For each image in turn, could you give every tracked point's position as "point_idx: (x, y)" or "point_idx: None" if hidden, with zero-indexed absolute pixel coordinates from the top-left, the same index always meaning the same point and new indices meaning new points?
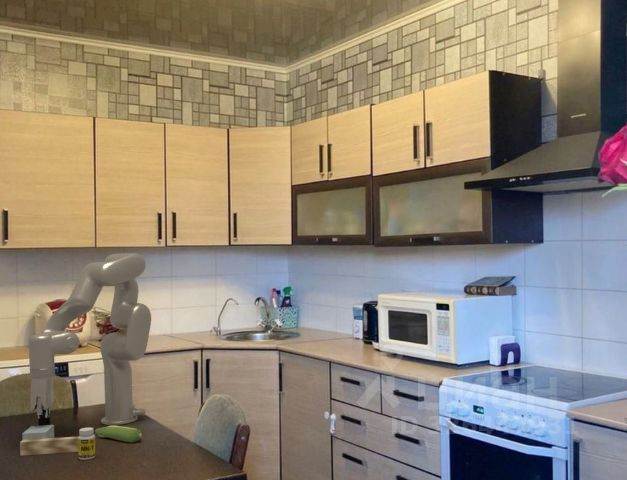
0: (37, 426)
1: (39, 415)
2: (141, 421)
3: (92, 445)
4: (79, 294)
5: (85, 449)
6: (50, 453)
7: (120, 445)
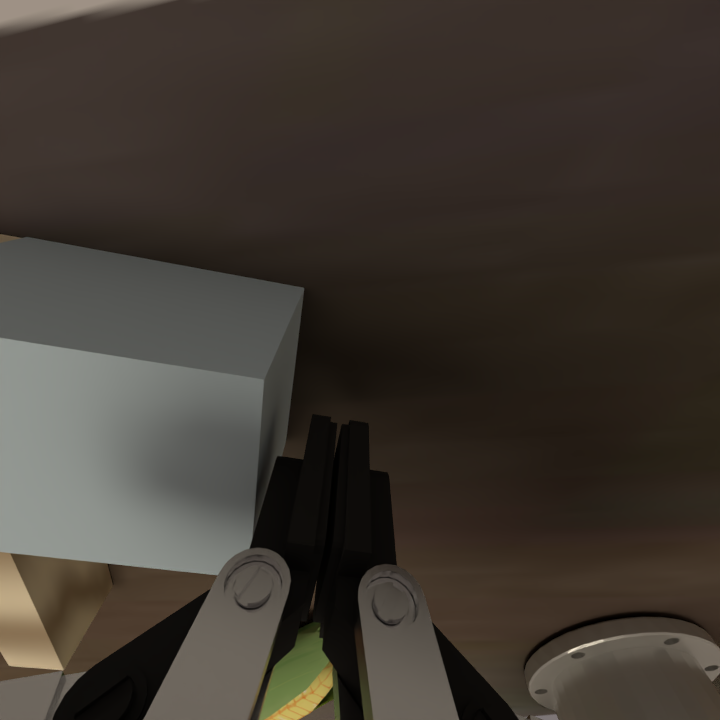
0: (216, 453)
1: (127, 652)
2: (531, 701)
3: None
4: None
5: None
6: None
7: None
